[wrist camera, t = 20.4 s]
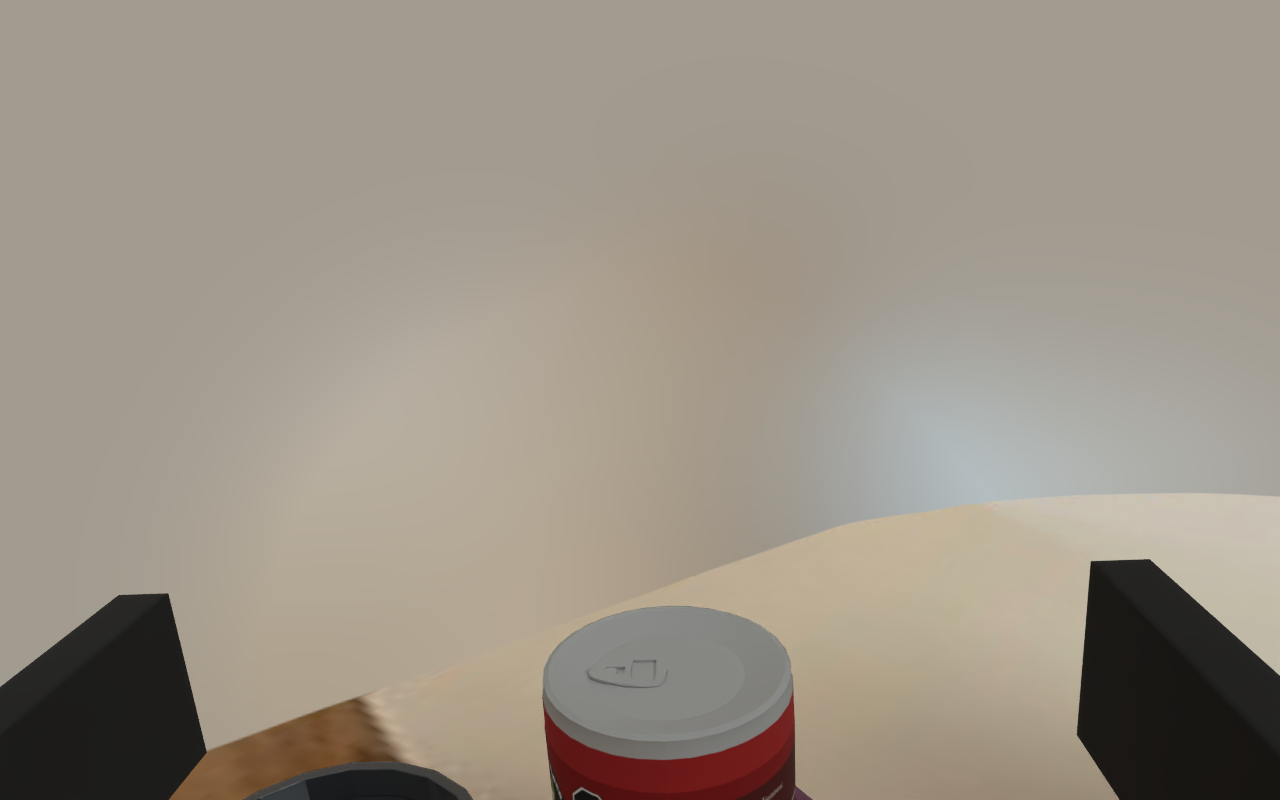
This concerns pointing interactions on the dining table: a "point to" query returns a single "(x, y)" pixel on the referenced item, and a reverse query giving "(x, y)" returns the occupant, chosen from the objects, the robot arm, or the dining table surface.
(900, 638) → the dining table surface
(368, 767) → the dark bowl
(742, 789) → the canned food
